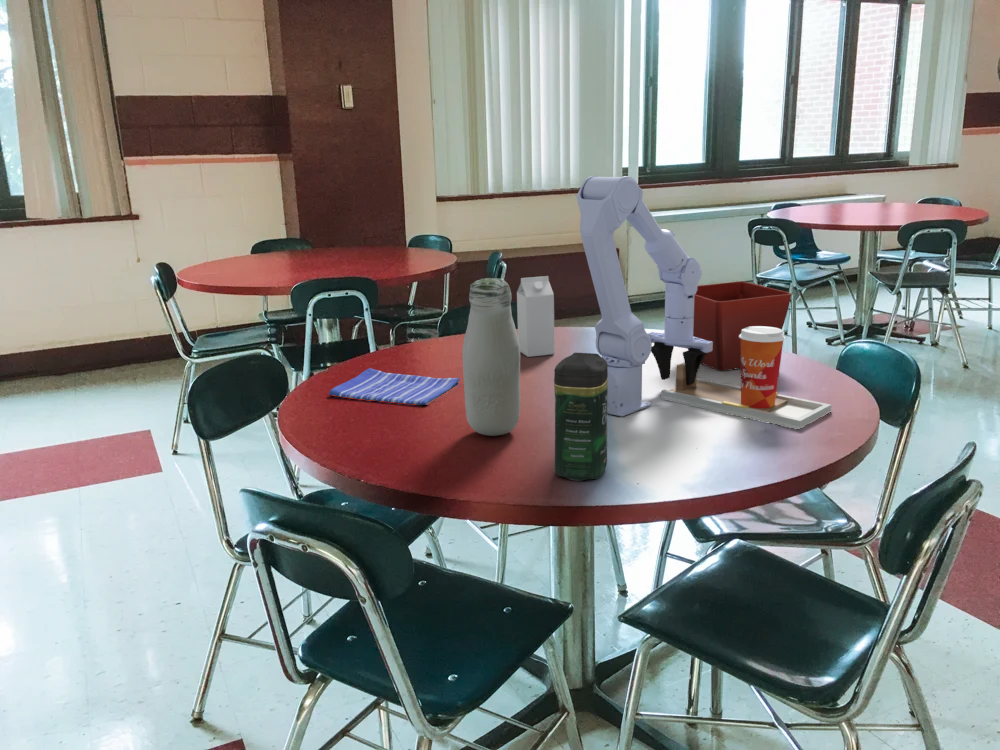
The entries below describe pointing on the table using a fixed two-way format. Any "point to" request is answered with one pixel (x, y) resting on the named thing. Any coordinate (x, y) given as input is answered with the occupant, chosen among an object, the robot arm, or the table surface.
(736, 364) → the plant pot
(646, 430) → the table surface
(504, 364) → the glass bottle
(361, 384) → the dish towel
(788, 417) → the board
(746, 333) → the coffee cup
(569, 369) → the coffee jar
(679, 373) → the wooden l-shaped board
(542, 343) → the milk carton
